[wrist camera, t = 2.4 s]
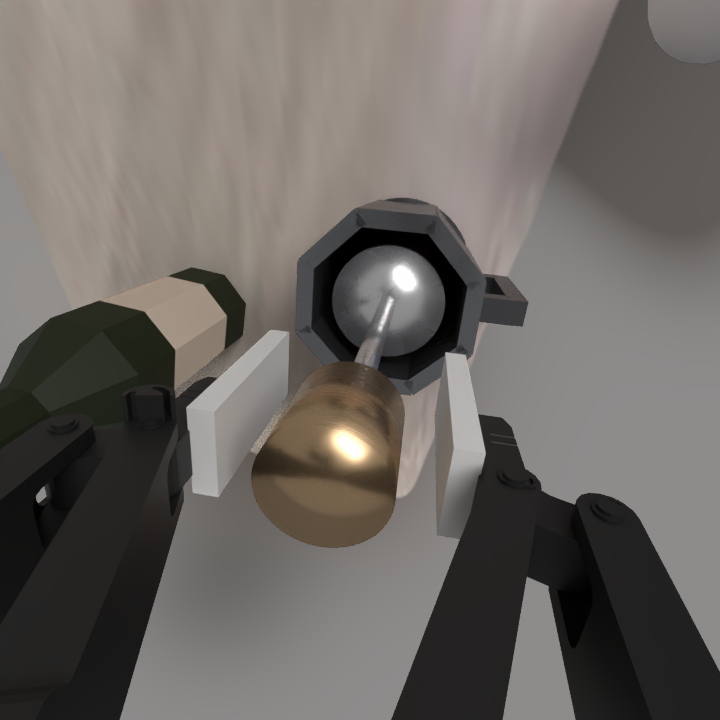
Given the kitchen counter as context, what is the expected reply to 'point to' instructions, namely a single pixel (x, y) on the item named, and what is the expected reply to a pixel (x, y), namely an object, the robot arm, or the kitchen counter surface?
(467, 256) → the dark grey mug
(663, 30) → the white rounded cylinder
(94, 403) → the wine bottle
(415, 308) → the plunger
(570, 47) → the kitchen counter surface
